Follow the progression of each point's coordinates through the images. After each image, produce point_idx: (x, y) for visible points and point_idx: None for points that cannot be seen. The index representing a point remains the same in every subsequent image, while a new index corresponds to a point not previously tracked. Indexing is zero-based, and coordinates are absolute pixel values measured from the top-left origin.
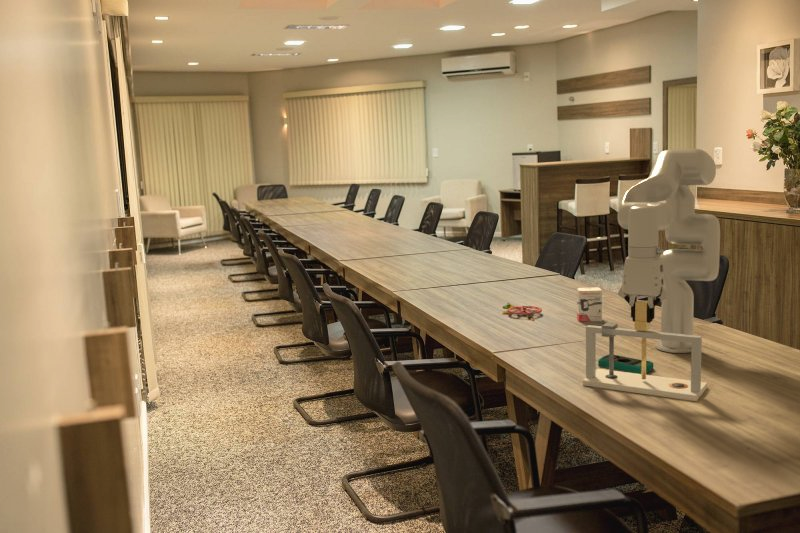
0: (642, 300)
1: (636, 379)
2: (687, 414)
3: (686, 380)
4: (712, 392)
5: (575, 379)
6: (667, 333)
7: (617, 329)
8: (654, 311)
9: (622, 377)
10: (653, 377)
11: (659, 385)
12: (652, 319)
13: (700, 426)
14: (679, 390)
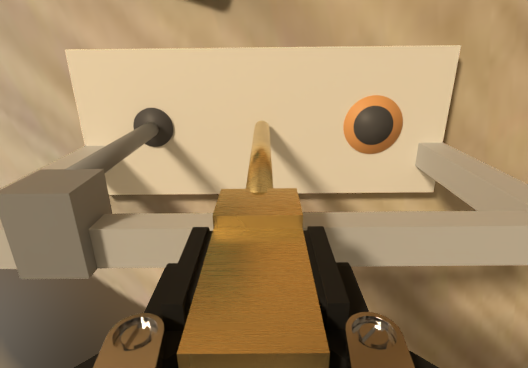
0: (228, 356)
1: (235, 118)
2: (412, 279)
3: (390, 53)
4: (467, 85)
5: (52, 144)
6: (413, 242)
7: (122, 262)
8: (361, 295)
9: (187, 117)
10: (279, 70)
11: (318, 147)
12: (323, 228)
13: (443, 329)
14: (382, 168)
